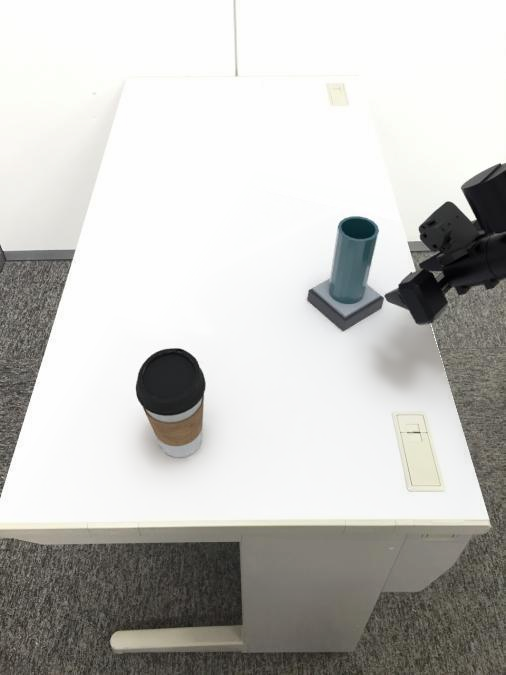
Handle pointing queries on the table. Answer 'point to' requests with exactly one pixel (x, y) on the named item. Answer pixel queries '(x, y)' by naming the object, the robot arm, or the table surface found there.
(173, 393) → the coffee cup
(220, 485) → the table surface
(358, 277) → the tumbler
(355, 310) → the scale
